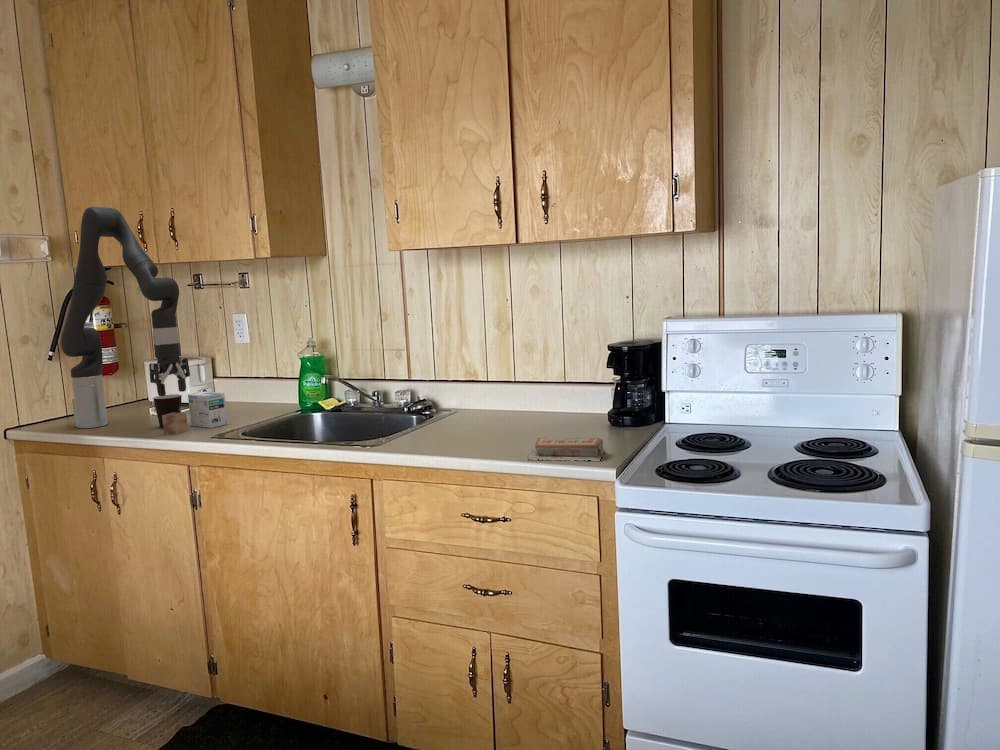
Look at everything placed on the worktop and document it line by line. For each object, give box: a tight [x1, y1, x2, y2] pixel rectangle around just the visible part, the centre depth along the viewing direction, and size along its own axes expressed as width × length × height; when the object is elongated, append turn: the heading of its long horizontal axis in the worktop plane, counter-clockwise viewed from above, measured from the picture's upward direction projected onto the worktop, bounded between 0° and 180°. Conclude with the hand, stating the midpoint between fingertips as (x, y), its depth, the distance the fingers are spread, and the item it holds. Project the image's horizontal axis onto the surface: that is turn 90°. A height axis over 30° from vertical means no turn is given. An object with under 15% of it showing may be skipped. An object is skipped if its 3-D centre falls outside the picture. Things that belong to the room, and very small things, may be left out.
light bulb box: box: [187, 391, 228, 429], centre depth 251 cm, size 11×7×11 cm, turn 58°
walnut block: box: [162, 412, 189, 435], centre depth 241 cm, size 5×5×6 cm
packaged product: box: [526, 436, 606, 460], centre depth 188 cm, size 18×5×10 cm
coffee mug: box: [152, 393, 183, 429], centre depth 253 cm, size 12×9×10 cm
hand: (172, 393), depth 240 cm, fingers open, 8 cm apart
